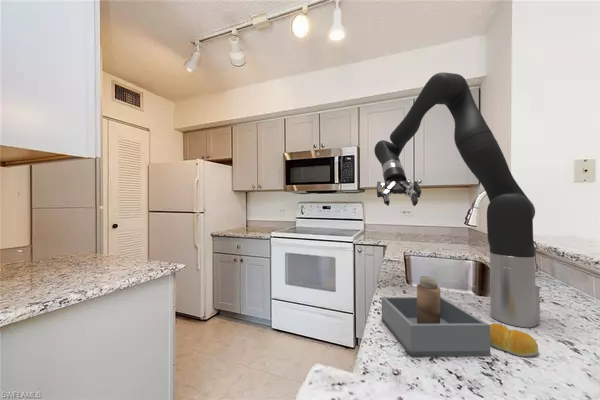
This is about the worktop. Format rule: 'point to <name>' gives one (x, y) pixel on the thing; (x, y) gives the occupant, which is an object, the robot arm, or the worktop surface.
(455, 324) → the bin
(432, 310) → the pepper mill
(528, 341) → the bread roll
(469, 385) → the worktop surface
